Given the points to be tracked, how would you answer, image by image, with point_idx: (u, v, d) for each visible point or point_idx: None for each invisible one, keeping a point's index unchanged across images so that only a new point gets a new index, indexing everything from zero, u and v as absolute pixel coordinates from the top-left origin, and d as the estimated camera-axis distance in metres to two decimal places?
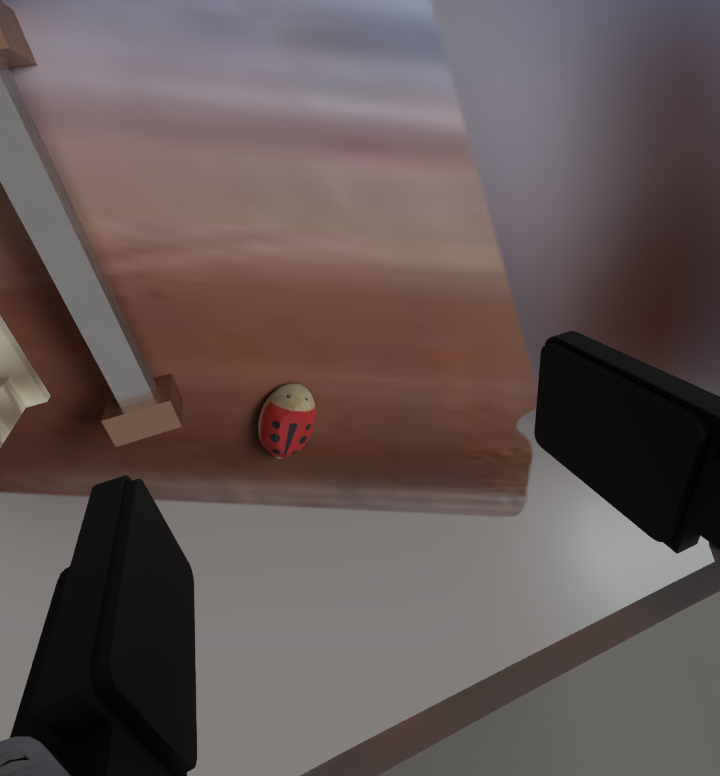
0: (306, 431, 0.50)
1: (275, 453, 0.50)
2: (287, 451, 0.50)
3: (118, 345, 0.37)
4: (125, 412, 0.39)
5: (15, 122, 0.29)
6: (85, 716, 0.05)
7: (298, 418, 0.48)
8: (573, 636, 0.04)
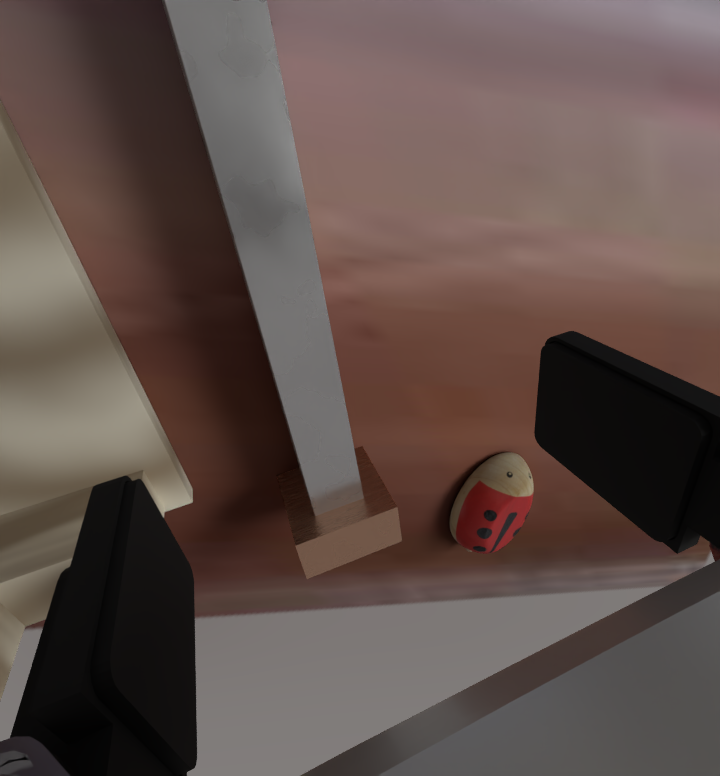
0: (524, 519, 0.35)
1: (476, 550, 0.35)
2: (495, 548, 0.35)
3: (334, 424, 0.22)
4: (329, 529, 0.24)
5: None
6: (85, 716, 0.05)
7: (520, 506, 0.33)
8: (573, 636, 0.04)
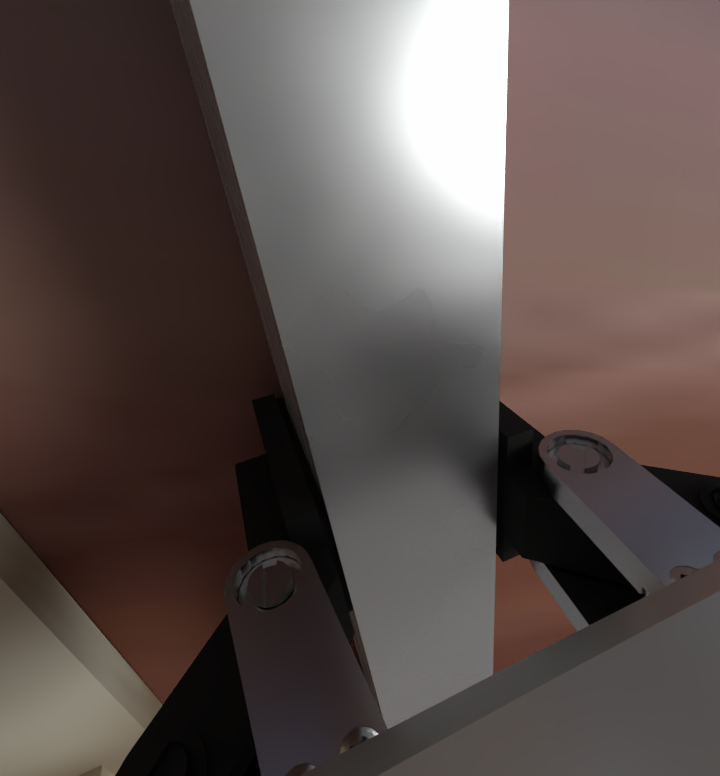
0: None
1: None
2: None
3: None
4: None
5: None
6: (314, 534, 0.07)
7: None
8: (572, 636, 0.04)
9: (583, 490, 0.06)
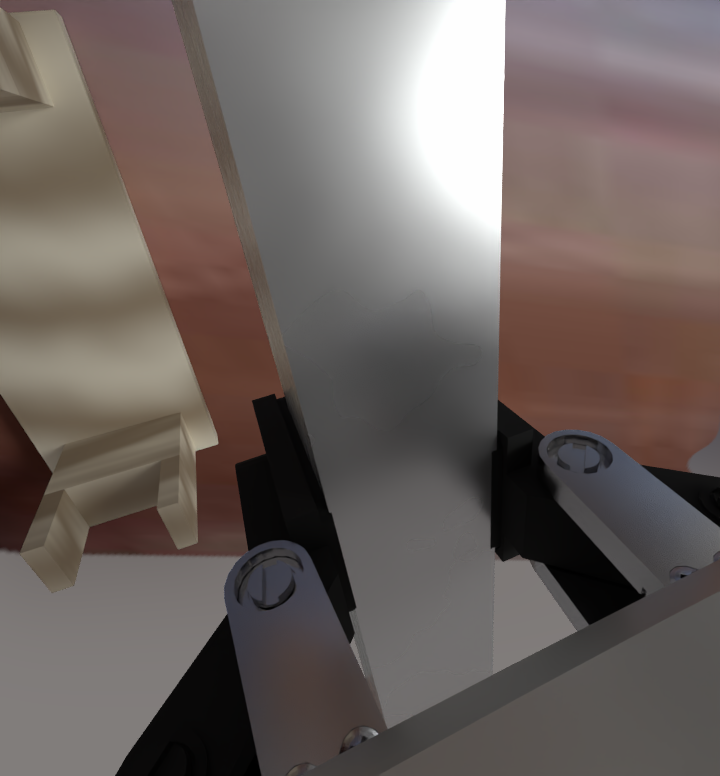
0: None
1: None
2: None
3: None
4: None
5: None
6: (314, 533, 0.07)
7: None
8: (573, 636, 0.04)
9: (583, 490, 0.06)
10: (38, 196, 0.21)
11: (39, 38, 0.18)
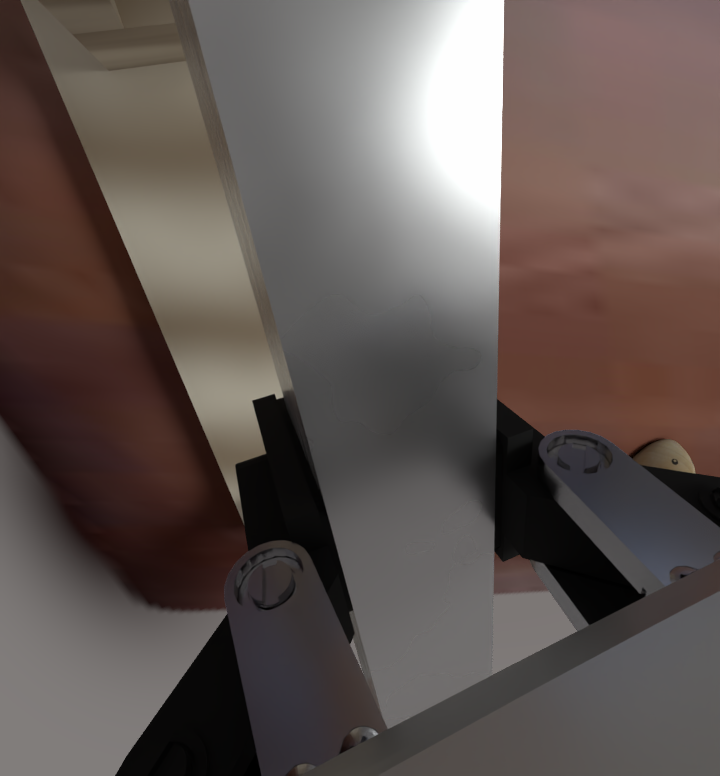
0: None
1: None
2: None
3: None
4: None
5: None
6: (314, 533, 0.07)
7: None
8: (572, 636, 0.04)
9: (583, 490, 0.06)
10: None
11: None
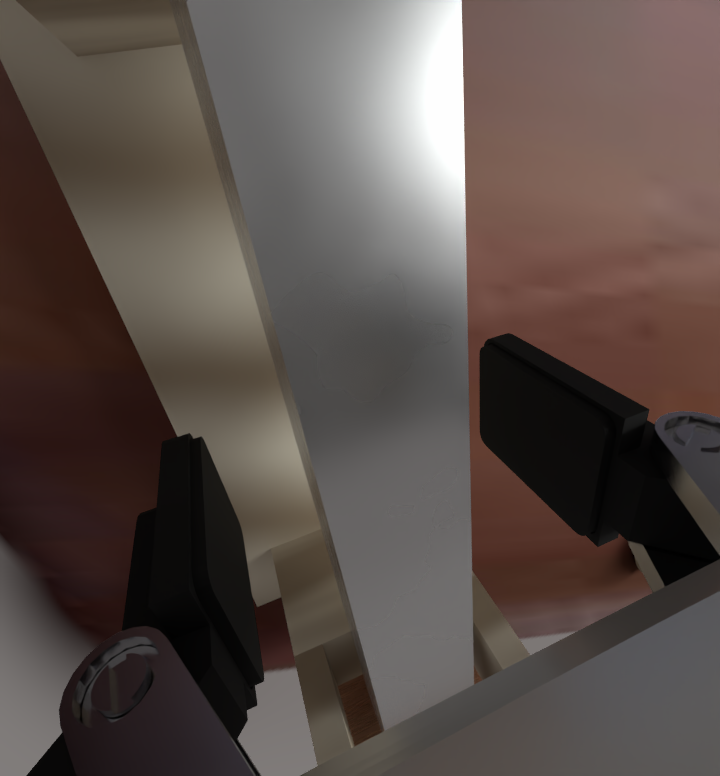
0: None
1: None
2: None
3: (449, 670, 0.12)
4: None
5: None
6: (190, 614, 0.06)
7: None
8: (573, 636, 0.04)
9: (692, 464, 0.06)
10: None
11: None
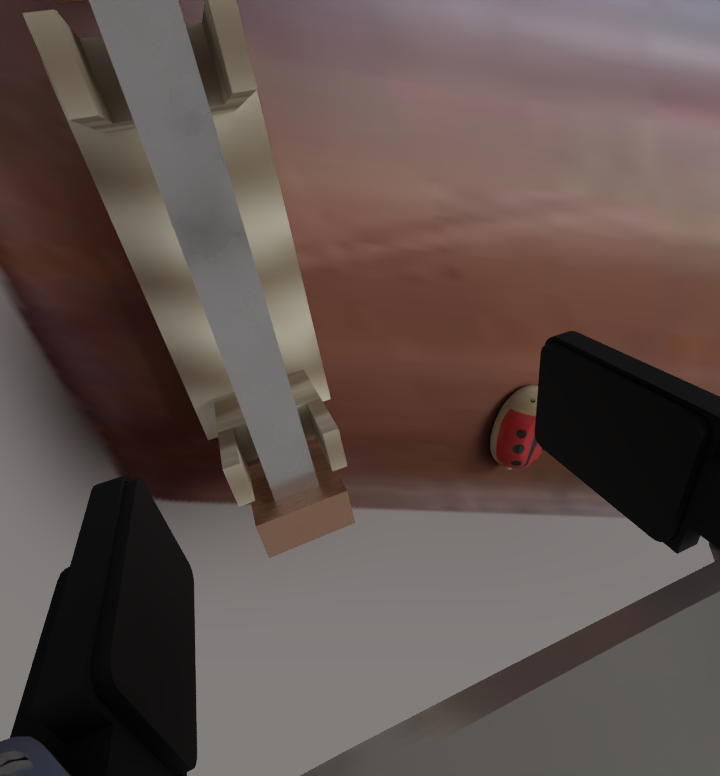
0: None
1: (514, 465, 0.45)
2: (529, 461, 0.44)
3: (285, 418, 0.25)
4: (286, 511, 0.27)
5: (188, 73, 0.17)
6: (85, 716, 0.05)
7: None
8: (573, 636, 0.04)
9: None
10: None
11: None
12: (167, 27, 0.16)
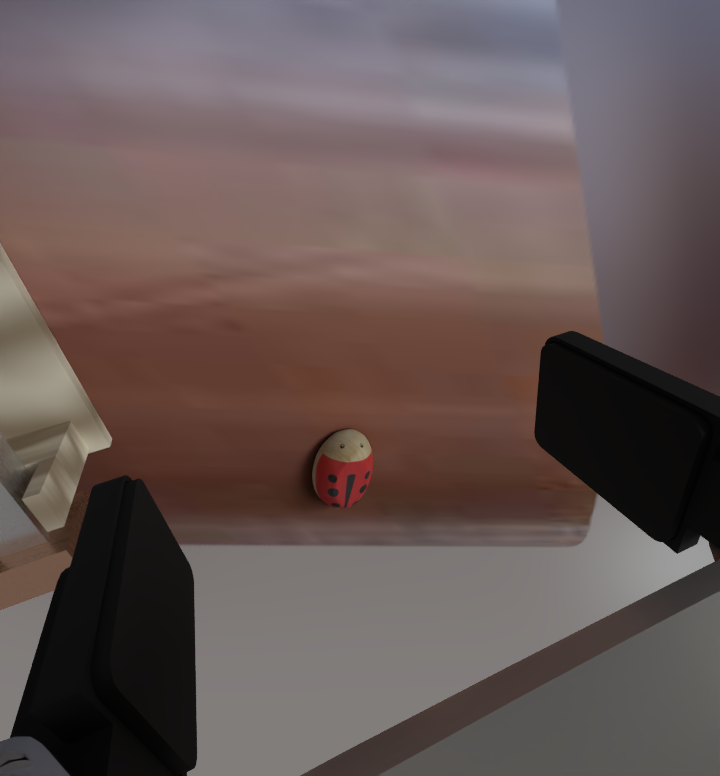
0: (366, 479, 0.45)
1: (335, 506, 0.46)
2: (348, 503, 0.45)
3: None
4: (0, 570, 0.28)
5: None
6: (85, 716, 0.05)
7: (355, 469, 0.43)
8: (573, 636, 0.04)
9: None
10: None
11: None
12: None
